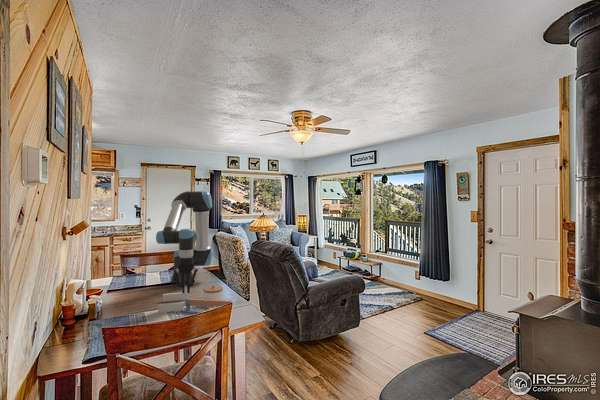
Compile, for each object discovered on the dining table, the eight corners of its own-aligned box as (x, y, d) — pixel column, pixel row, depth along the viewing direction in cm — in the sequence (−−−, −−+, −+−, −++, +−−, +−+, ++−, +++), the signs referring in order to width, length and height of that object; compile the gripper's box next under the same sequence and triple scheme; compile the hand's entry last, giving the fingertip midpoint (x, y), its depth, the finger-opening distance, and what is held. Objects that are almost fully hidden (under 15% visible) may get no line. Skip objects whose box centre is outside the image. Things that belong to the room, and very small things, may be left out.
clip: (232, 306, 158) (232, 300, 158) (230, 308, 155) (230, 302, 155) (186, 303, 161) (186, 298, 161) (184, 305, 158) (184, 299, 158)
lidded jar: (203, 306, 166) (203, 288, 166) (203, 299, 176) (203, 283, 176) (223, 304, 169) (223, 287, 169) (222, 298, 179) (222, 282, 179)
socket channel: (163, 301, 173) (163, 294, 173) (192, 298, 178) (192, 291, 178) (157, 313, 154) (157, 305, 154) (190, 310, 159) (190, 302, 159)
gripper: (172, 258, 163) (172, 302, 163) (198, 257, 167) (198, 300, 167) (174, 256, 170) (174, 297, 171) (198, 254, 174) (198, 295, 174)
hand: (186, 298), depth 169 cm, fingers closed
